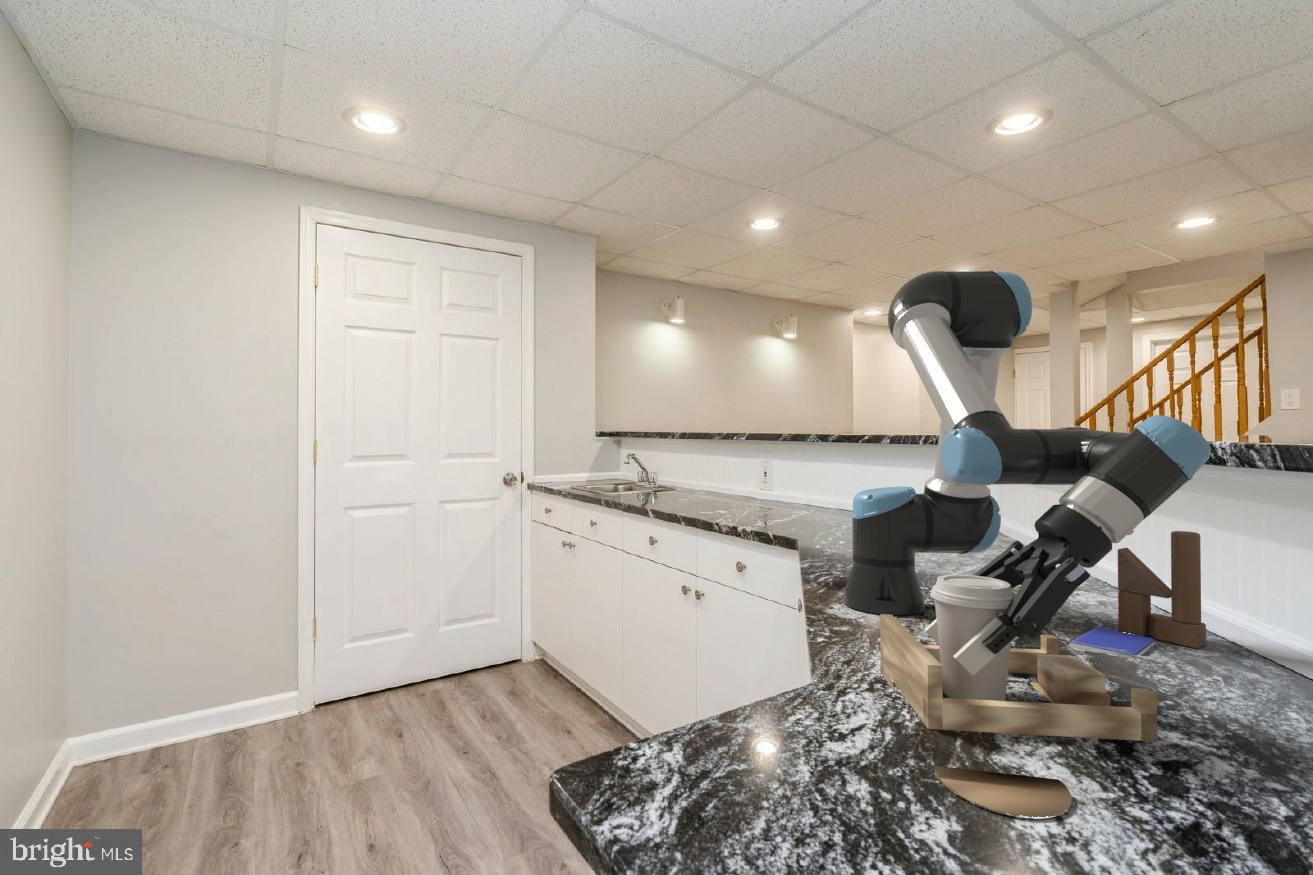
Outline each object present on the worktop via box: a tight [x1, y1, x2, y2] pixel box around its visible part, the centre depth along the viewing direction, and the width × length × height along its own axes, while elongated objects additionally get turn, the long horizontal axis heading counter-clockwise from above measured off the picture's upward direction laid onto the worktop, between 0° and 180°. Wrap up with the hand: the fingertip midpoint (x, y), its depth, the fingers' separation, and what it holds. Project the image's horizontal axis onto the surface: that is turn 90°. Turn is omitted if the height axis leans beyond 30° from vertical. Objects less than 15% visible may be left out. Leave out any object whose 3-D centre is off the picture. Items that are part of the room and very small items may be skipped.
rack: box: [879, 614, 1158, 743], centre depth 73 cm, size 22×20×8 cm
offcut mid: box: [1037, 671, 1111, 706], centre depth 73 cm, size 5×8×2 cm, turn 163°
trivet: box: [934, 765, 1072, 817], centre depth 56 cm, size 11×11×1 cm
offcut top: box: [1038, 654, 1106, 693], centre depth 73 cm, size 4×6×2 cm, turn 175°
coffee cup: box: [929, 574, 1016, 701], centre depth 74 cm, size 10×10×15 cm
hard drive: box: [1069, 627, 1156, 657], centre depth 97 cm, size 2×8×12 cm
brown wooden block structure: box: [1117, 530, 1207, 649], centre depth 100 cm, size 4×11×18 cm, turn 32°
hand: (946, 651), depth 74 cm, fingers closed on coffee cup, 9 cm apart
